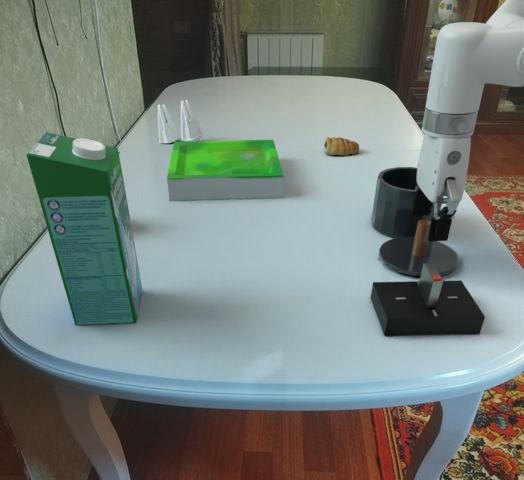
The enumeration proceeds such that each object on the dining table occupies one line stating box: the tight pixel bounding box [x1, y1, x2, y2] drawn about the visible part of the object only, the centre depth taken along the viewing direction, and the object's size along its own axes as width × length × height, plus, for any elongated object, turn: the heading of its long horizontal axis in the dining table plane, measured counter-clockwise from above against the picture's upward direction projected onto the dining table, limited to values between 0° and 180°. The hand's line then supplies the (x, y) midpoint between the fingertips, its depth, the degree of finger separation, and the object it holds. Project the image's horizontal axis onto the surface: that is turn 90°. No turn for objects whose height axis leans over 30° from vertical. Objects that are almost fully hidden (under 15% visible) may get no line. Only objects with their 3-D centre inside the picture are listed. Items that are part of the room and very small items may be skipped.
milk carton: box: [26, 131, 143, 326], centre depth 71 cm, size 9×9×25 cm
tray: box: [166, 139, 285, 202], centre depth 120 cm, size 25×25×5 cm
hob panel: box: [370, 279, 486, 337], centre depth 76 cm, size 14×10×3 cm
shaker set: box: [157, 99, 204, 145], centre depth 139 cm, size 12×4×11 cm, turn 81°
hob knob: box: [418, 263, 444, 308], centre depth 74 cm, size 5×1×5 cm, turn 2°
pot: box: [370, 166, 445, 239], centre depth 98 cm, size 13×13×10 cm
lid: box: [378, 219, 459, 277], centre depth 88 cm, size 14×14×7 cm
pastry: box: [323, 136, 360, 156], centre depth 135 cm, size 9×7×4 cm
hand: (428, 227), depth 86 cm, fingers open, 9 cm apart
